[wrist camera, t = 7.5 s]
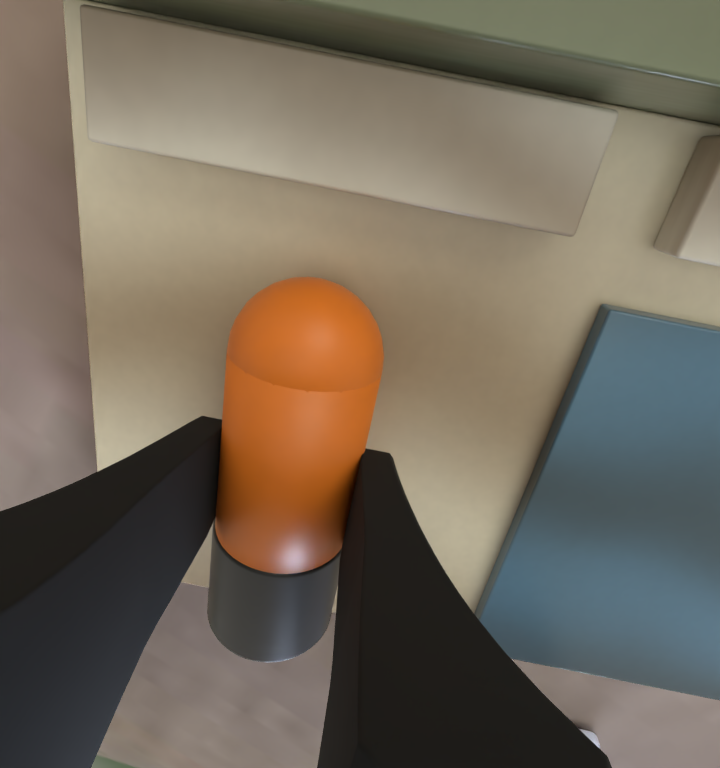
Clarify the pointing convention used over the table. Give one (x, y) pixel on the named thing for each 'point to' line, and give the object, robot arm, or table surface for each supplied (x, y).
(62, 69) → the table surface
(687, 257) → the bed
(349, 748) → the robot arm
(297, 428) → the orange capsule container
